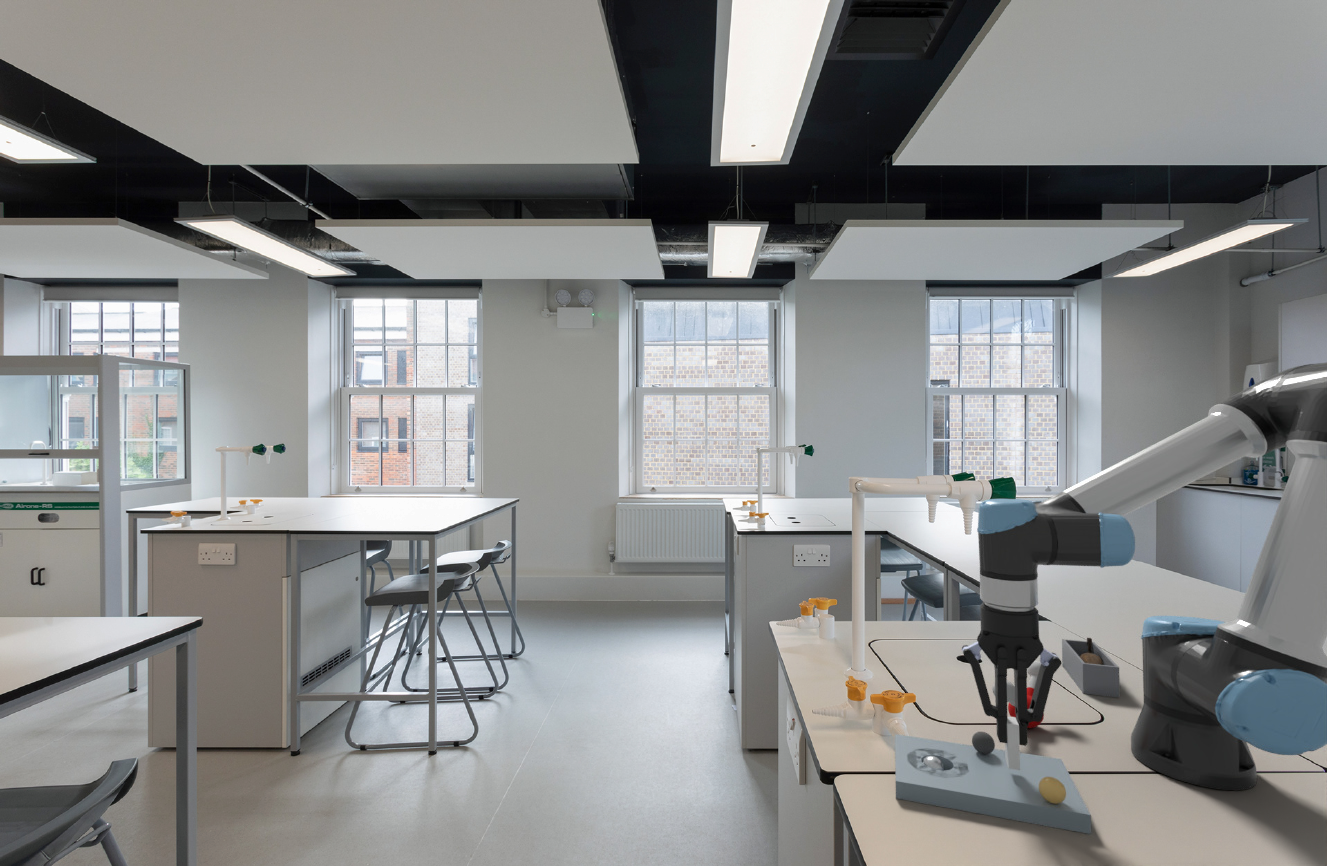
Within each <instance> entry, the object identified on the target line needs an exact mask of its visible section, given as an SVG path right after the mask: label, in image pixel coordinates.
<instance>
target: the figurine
mask: <svg viewBox="0 0 1327 866" xmlns="http://www.w3.org/2000/svg"><path fill="white" fill-rule="evenodd" d="M1086 641H1087V646H1088V653H1084V654H1082V655H1081V656H1080V658H1081V659H1082V660H1083V661H1084V663H1088V664H1098V665H1103V662H1102V659H1101V658H1100V657H1099V656H1097V655H1095V654H1092V653H1091V646H1092V642H1093V639H1092V638H1091V637H1087V638H1086Z"/></svg>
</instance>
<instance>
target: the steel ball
mask: <svg viewBox="0 0 1327 866" xmlns="http://www.w3.org/2000/svg"><path fill="white" fill-rule="evenodd" d="M922 763H923V764H924V765H926V766H927V767H930V768H932V769H935V770H941V771H944V766H943V763H942V762H941V761H940V760H939V759H938V758H937V757H934V756H928V757H926V758H924V759H923V761H922Z"/></svg>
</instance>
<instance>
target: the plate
mask: <svg viewBox="0 0 1327 866" xmlns="http://www.w3.org/2000/svg"><path fill="white" fill-rule="evenodd" d="M894 744H895V745H894V746H895V747H894V748H895V749H894V750H895V751H894V752H895V753H894V754H895V755H894V758H895V763H894V764H895V799H897V800H902V801H910V802H915V803H919V804H925V805H931V806H937V807H941V808H942V807H943V808H947V809H952V810H957V811H964V812H967V813H975V814H978V815H979V814H980V815H985V816H991V817H994V818H1001V819H1007V820H1013V821H1018V822H1023V823H1027V824H1034V825H1039V826H1045V827H1051V828H1055V829H1061V830H1066V831H1072V832H1076V833H1077V832H1078V833H1083V834H1088V835H1092V815H1091V813H1090V811H1089V809H1088V807H1087V805H1086V803H1085V802H1084V800H1083V798H1082V796H1081V794H1080V791H1079V789H1078V788H1077V786H1076V784H1075V782H1074V781H1073V778H1072V776H1071V775H1070V773H1069V771H1068V769H1067V767H1066V765H1065V763H1064V761H1063V759H1062V758H1057V757H1051V756H1045V755H1036V754H1031V753H1023V752H1020V770H1014V769H1009V768H1008V765H1007V763H1006V760H1005V749H997V748H994V750H993V751H992V752H991V753H990V754H982V753H979V752H978V751H977V750H976V749H975V748H974V746H973V744H972V745H970V744H964V743H958V742H957V743H956V742H952V741H951V742H950V741H944V740H939V739H938V740H937V739H932V738H925V737H924V738H923V737H917V736H910V735H905V734H899V733H894ZM928 756H934V757H937V758H938V759H939V760H940V761H941V762H942V763H943V766H944V771H941V770H935V769H932V768H930V767H927V766H926V765H924V764H923V763H922V761H923V759H924V758H926V757H928ZM1044 777H1054V778H1056V779H1058V780H1059V781H1060V782H1061V783H1062V784H1063V785H1064V787H1065V789H1066V798H1065V800H1064V801H1063V802H1061V803H1059V804H1054V803H1050V802H1048V801H1047V800H1045V799H1044V798H1043V797H1042V795H1041V794H1040V791H1039V782H1040V780H1041V779H1042V778H1044Z"/></svg>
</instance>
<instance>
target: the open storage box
mask: <svg viewBox="0 0 1327 866" xmlns="http://www.w3.org/2000/svg"><path fill="white" fill-rule="evenodd" d="M1084 653H1088V646H1087V640H1076V639H1065V638H1063V639H1062V638H1061V659H1062V660H1061V662H1062V664H1061V666H1062V667H1063V669H1064V670H1065V671H1066V673H1067V674H1068V675H1069V677H1070V678H1071V679H1072V680H1073V682H1074V683H1075V685H1076V686H1077V687H1078V689H1079V690H1080V691H1081V692H1082V694H1084V695H1085V694H1086V695H1093V696H1101V697H1110V698H1111V697H1113V698H1117V699H1118V698H1119V699H1120V693H1121V692H1120V689H1121V688H1120V666H1118V664H1117V663H1116V662H1115V661H1114V660H1112V658H1111V657H1109V655H1108V654H1107V653H1106V652H1104V651H1103V649H1102V648H1100V647H1099V645H1097V643H1096V642H1095V641H1092V646H1091V653H1092V654H1095V655H1097V656H1099V657H1100V658H1101V659H1102V662H1103V665H1098V664H1088V663H1084V661H1083V660H1082V659H1081V658H1080V656H1081V655H1082V654H1084Z"/></svg>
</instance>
